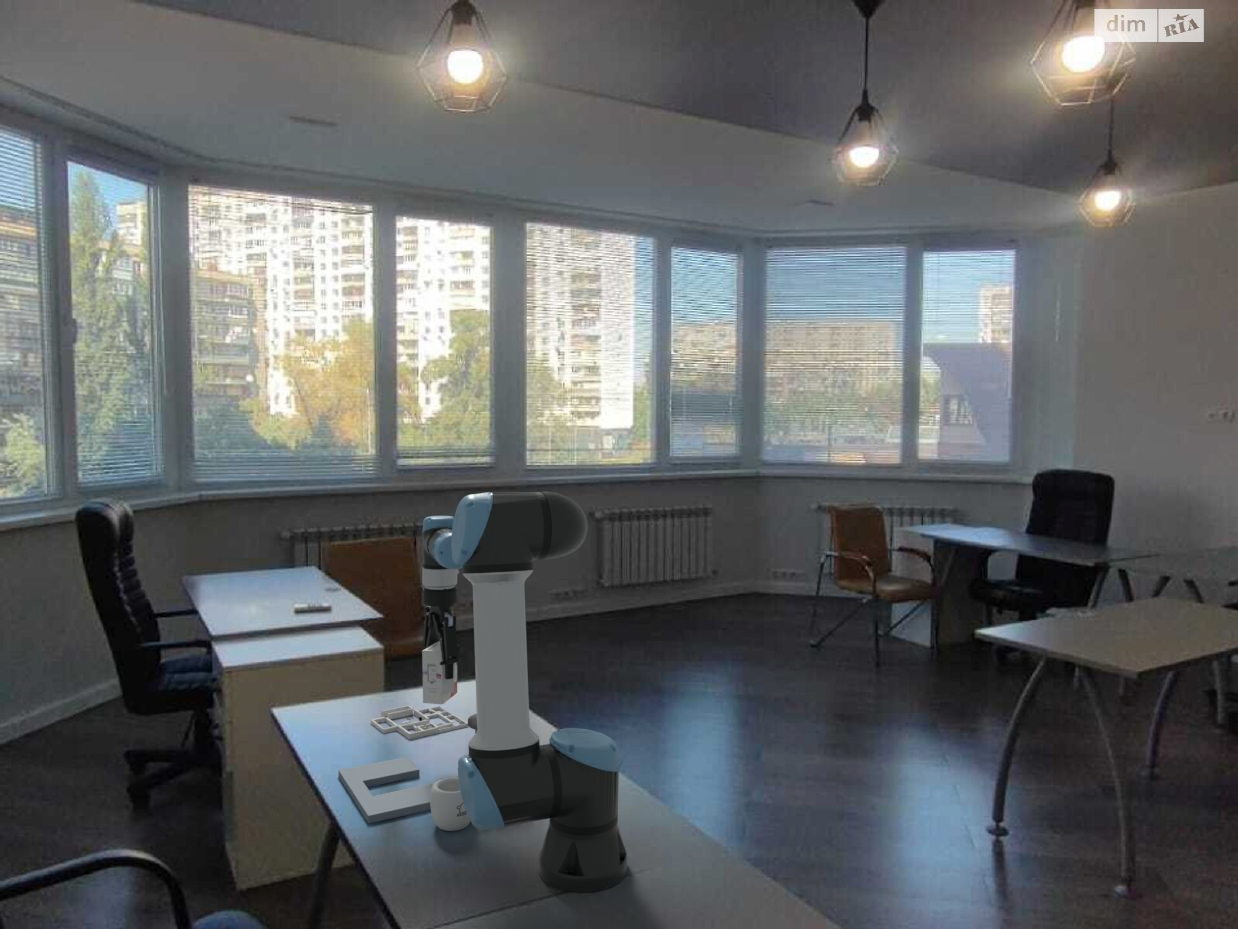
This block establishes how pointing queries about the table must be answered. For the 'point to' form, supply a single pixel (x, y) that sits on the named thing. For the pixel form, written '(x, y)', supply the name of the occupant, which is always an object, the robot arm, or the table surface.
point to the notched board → (389, 802)
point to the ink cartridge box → (434, 676)
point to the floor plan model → (417, 725)
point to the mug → (448, 805)
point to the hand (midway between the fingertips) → (439, 686)
